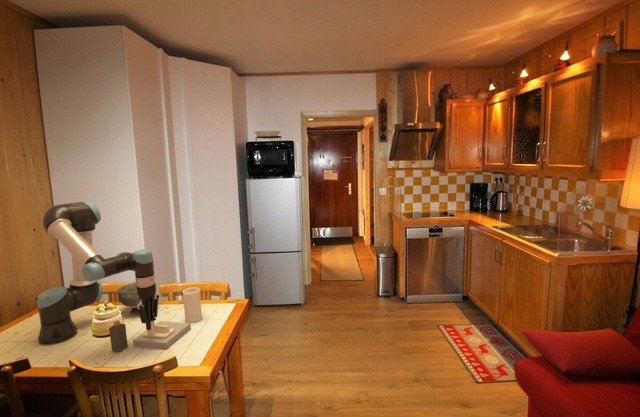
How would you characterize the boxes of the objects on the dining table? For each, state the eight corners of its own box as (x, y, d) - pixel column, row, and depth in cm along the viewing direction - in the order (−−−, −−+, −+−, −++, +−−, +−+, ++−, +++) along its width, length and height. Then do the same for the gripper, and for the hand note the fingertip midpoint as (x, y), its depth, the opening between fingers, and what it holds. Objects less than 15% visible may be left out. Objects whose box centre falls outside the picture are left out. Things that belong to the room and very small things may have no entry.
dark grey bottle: (111, 351, 156) (108, 323, 155) (119, 346, 161) (116, 319, 159) (120, 352, 156) (117, 324, 154) (127, 346, 160) (124, 319, 158)
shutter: (143, 336, 162) (142, 328, 162) (153, 328, 169) (152, 321, 169) (165, 338, 160) (164, 330, 159) (175, 330, 167) (174, 322, 166)
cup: (196, 323, 181) (194, 293, 178) (182, 322, 182) (179, 292, 180) (204, 316, 189) (202, 287, 186) (191, 315, 190) (188, 287, 188)
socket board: (133, 346, 160) (132, 340, 160) (160, 326, 178) (159, 321, 178) (166, 349, 157) (166, 343, 156) (190, 329, 175) (190, 323, 174)
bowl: (134, 303, 209) (131, 279, 207) (165, 304, 206) (162, 279, 204) (110, 318, 190) (107, 291, 188) (143, 319, 187) (140, 292, 185)
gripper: (143, 290, 149) (148, 343, 152) (162, 280, 161) (167, 328, 165) (127, 289, 150) (133, 341, 154) (148, 279, 163) (153, 327, 166)
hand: (151, 335), depth 159 cm, fingers closed
